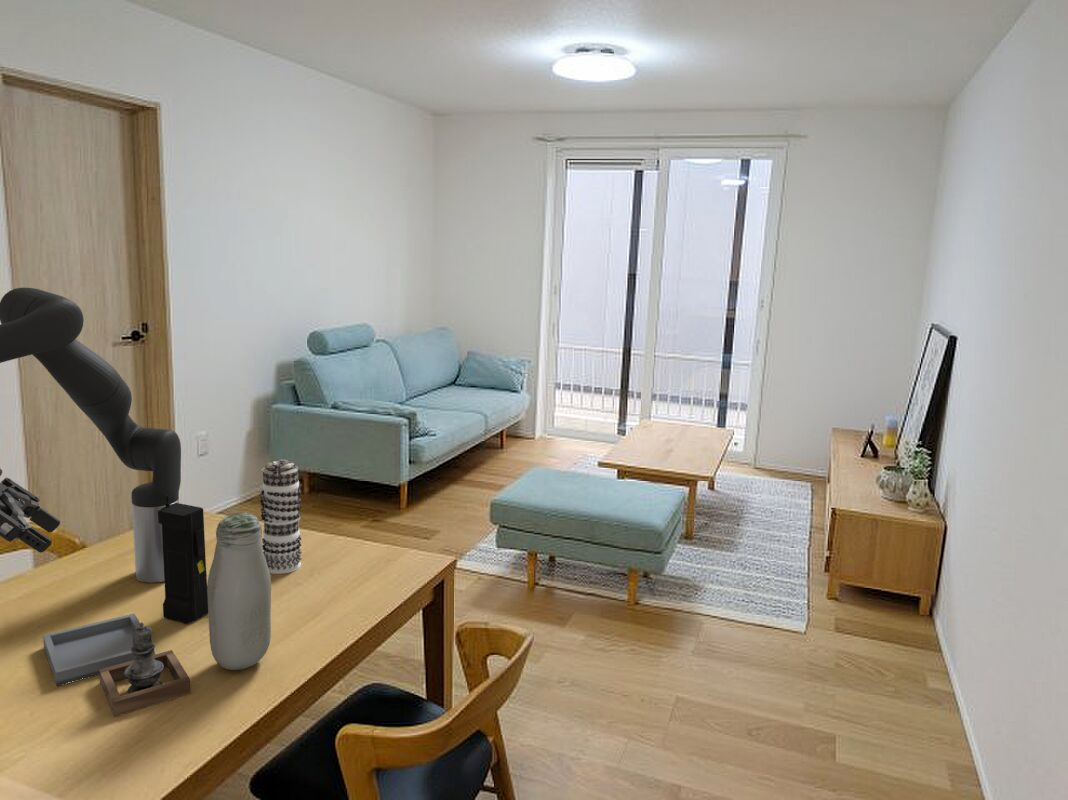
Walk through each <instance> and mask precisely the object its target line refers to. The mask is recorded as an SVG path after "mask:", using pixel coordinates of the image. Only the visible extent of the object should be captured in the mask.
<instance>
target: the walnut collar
mask: <svg viewBox="0 0 1068 800" xmlns="http://www.w3.org/2000/svg"><path fill="white" fill-rule="evenodd" d="M154 659H155V660H158V661H161V662H162V663H163V664H164V668H163V670H164V669H167V670H168V672H169V674H170V675H171V677H172V679H173V680H171V681H168V682H163V684H161V685H157V686H154V687H150V688H147V689H144V690H140V691H137V692H134V693H130V694H128V693H127V694H125V695H120V692H119V691H118V688H117V686H116V684H115V682H116V683H119V682H121V681H122V680H123V681H125V680H128V679H127V677H126V676H125V674H124V672H125V670H126V668H127V667H128V666H130V665H131V664H133V661H134V660H133V661H129V662H126V663H122V664H118V665H114V666H111V667H107V668H103V669H100V670H99V675H98V677H99V684H100V687H101V686H102V687H101V688H102V691H103V693H105V694H104V696H105V698H106V700H107V703H108V705H109V708H110V710H111V712H112V713H113V717H114V718H116V717H118V716H121V714H122V715H125V714H128V712H129V713H131V712H134V711H139V710H140V709H145V708H147V707H151V706H154V705H158V704H160V703H164V702H167V701H170V700H174V699H177V698H180V696H181V697H183V696H186V695H190V694H192V685H191V684H192V683H191V682H192V681H191V678H190V676H189V674H188V673H187V672H186V670H185V668H184V667H183V665H182V664H181V662H180V661H179V659H178V657H177V655H176V654H175V653H174V650H173V649H171V650H166V651H162V652H160V653H156V654H155V655H154ZM118 681H119V682H118ZM115 716H116V717H115Z"/></svg>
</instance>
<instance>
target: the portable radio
mask: <svg viewBox="0 0 1068 800" xmlns="http://www.w3.org/2000/svg"><path fill="white" fill-rule="evenodd" d="M165 496H166V502H167V503H166V504H165V505H166V507H163V508H161V509H160V510H159V511H158V523H159V524H162V539H163V560H164V580H165V581H164V601H163V603H162V614H163V618H164V619H166V620H170V621H174V622H176V623H177V622H178V623H181V624H185V625H188V624H191V623H194V622H196V621H197V620H199V619H202V618H203V617H205V616H206V615H208V593H207V583H208V577H207V576H208V575H207V560H206V538H205V535H206V534H205V521H204V520H205V518H204V508H203V507H200V506H195V505H189V504H184V503H181V502H179V503H173V504H171V505H170V504H169V503H168V496H169V495H165Z"/></svg>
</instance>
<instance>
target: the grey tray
mask: <svg viewBox="0 0 1068 800" xmlns="http://www.w3.org/2000/svg"><path fill="white" fill-rule="evenodd" d="M140 623H141V622H140V620H139V618H138V617H137V615H136V614H135V613H131V614H126V615H123V616H117V617H114V618H109V619H105V620H100V621H96V622H92V623H89V624H83V625H81V626H80V625H79V626H75V627H71V628H68V629H67V628H66V629H63V630H58V631H54V632H50V633H46V634H43V635H42V639H43V648H45V649H44V651H46V652H45V654H47V655H46V658H47V657H48V658H47V661H48V660H49V661H48V664H49V663H50V664H49V666H51V667H50V669H52V670H51V672H53V673H52V675H53V678H54V682H55V684H56V687H60V686H59V685H61V686H63V685H62V684H64V685H67V684H66V683H68V682H71V683H73V682H72V681H75V682H77V681H76V680H79V681H81V680H80V679H82V678H83V679H82V680H85V679H84V678H86V679H89V678H88V677H90V678H93V677H96V676H95V675H97V676H99V670H100V669H103V668H107V667H111V666H114V665H118V664H122V663H126V662H129V661H133V660H134V658H133V653H132V652H131V648H132V647H133V631H134V630H135V629H136V628H138V627H140ZM153 654H154V655H155V649H154V650H153ZM92 676H93V677H92ZM68 684H69V683H68Z"/></svg>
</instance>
